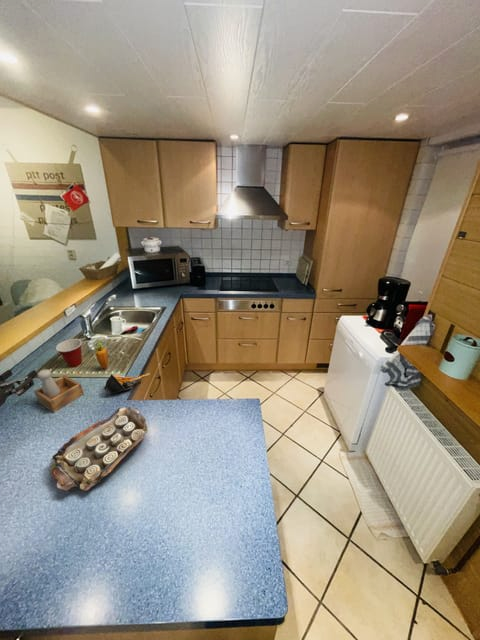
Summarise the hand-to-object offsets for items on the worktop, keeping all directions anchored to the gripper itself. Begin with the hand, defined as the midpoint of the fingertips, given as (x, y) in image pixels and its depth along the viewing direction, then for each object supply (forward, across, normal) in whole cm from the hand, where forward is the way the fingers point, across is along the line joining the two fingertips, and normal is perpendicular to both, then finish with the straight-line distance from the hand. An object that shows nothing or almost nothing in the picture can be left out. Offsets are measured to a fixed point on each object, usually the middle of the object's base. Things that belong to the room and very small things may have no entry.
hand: (22, 372), depth 87 cm
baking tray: (-14, -31, +22) cm, 40 cm away
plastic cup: (+35, +8, +22) cm, 42 cm away
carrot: (+31, -9, +22) cm, 39 cm away
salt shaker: (+10, +2, +21) cm, 24 cm away
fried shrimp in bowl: (+18, -26, +22) cm, 38 cm away
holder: (+11, 0, +22) cm, 24 cm away
